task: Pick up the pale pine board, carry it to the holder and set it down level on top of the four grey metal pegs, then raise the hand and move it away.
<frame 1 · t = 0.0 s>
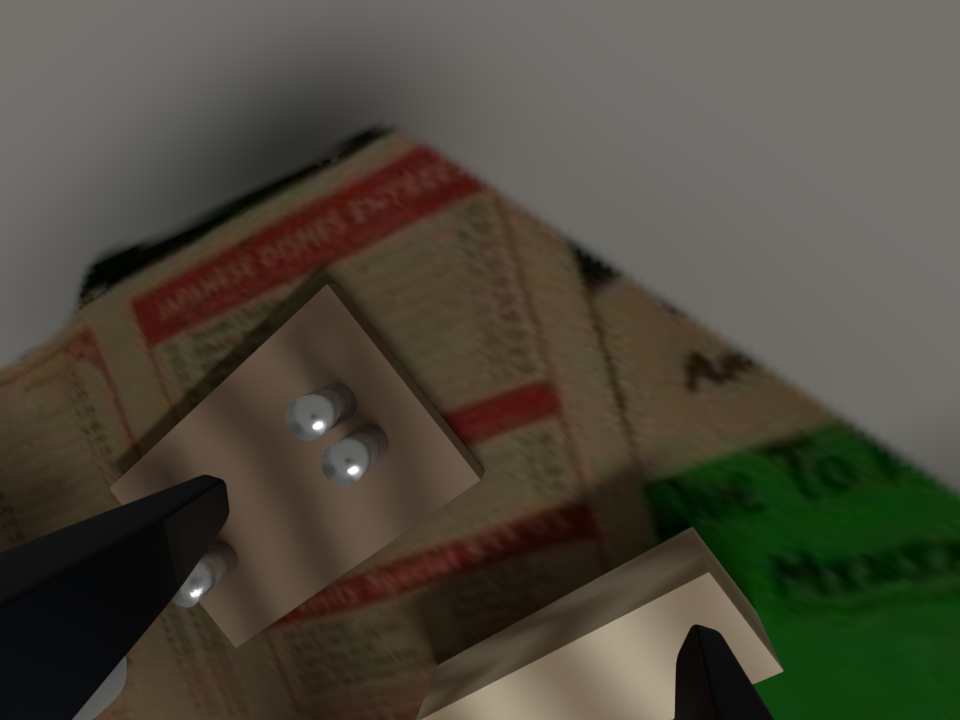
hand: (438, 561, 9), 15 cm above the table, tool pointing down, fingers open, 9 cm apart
coffee mug: (87, 638, 35), on the table
peg holder: (287, 477, 28), on the table
pine board: (583, 636, 27), on the table
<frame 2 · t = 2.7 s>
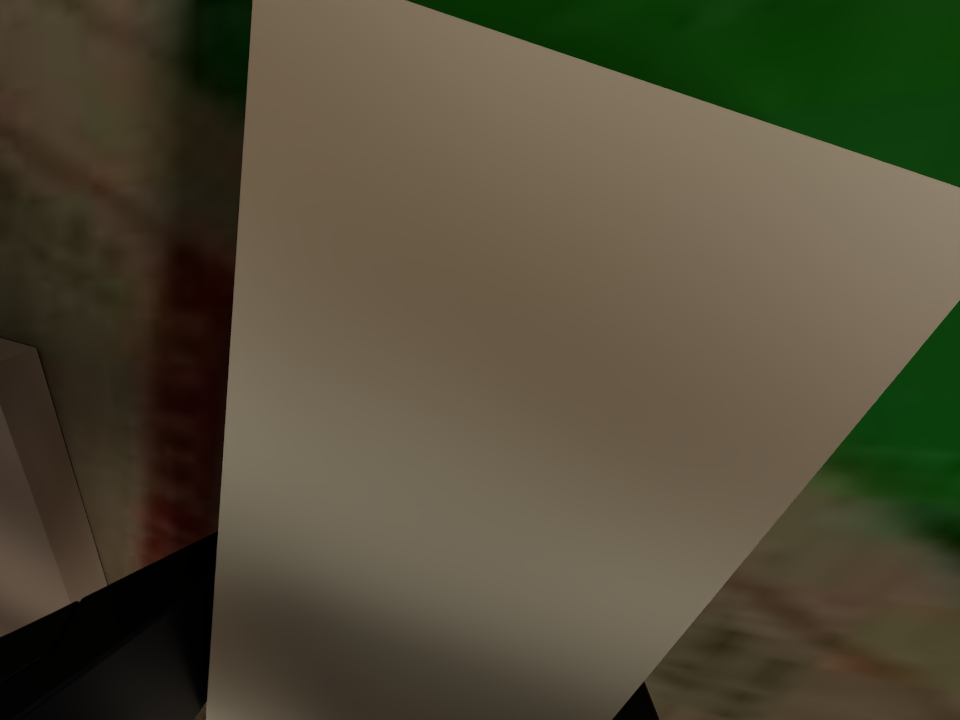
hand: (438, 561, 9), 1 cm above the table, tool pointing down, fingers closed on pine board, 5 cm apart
pine board: (458, 517, 10), on the table, touching gripper
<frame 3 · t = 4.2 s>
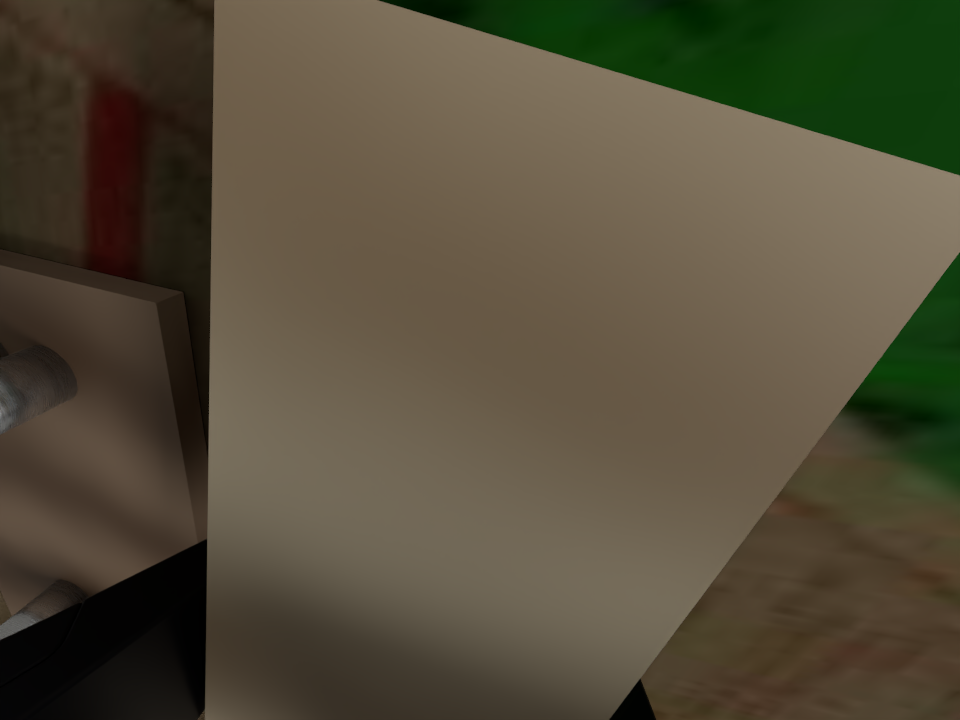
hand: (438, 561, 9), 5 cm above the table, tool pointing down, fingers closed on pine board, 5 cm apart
peg holder: (88, 485, 21), on the table
pine board: (456, 520, 10), point 4 cm above the table, touching gripper
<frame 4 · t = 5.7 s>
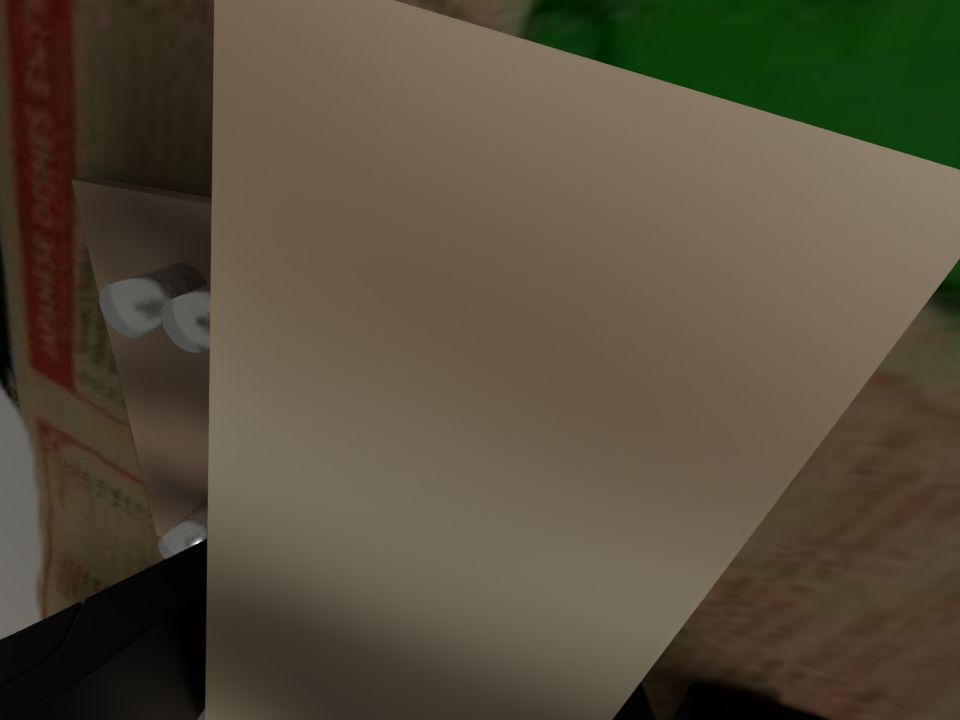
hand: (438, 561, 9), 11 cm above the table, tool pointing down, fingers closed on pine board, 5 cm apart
peg holder: (246, 407, 24), on the table
pine board: (457, 520, 10), point 10 cm above the table, touching gripper
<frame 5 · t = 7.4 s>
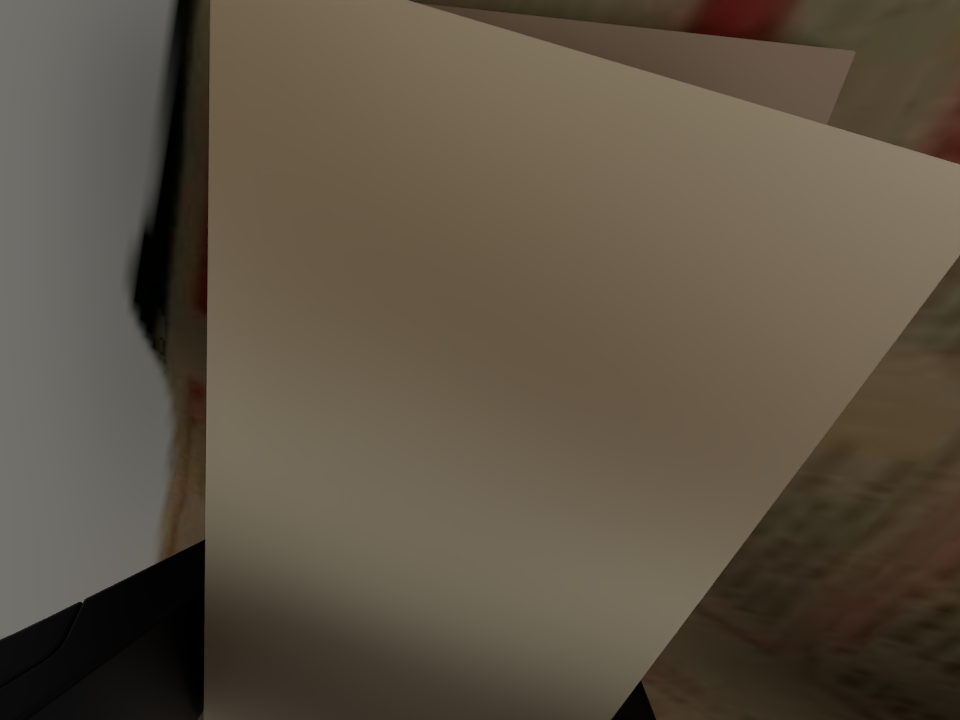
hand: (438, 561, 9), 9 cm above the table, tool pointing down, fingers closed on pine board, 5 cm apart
peg holder: (523, 358, 17), on the table
pine board: (456, 520, 10), point 8 cm above the table, touching gripper
when the fingers open (6 cm above the table, at t = 8.7 s): pine board drops 1 cm, resting on peg holder.
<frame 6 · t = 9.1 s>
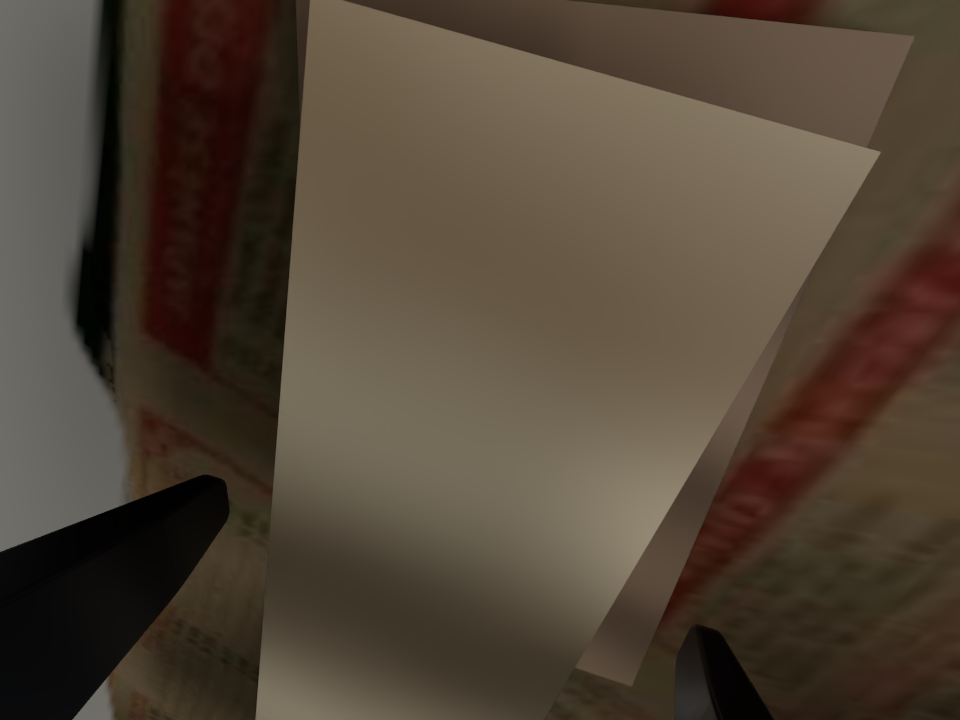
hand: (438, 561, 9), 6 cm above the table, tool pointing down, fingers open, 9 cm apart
peg holder: (509, 394, 15), on the table
pine board: (474, 476, 12), point 4 cm above the table, touching peg holder
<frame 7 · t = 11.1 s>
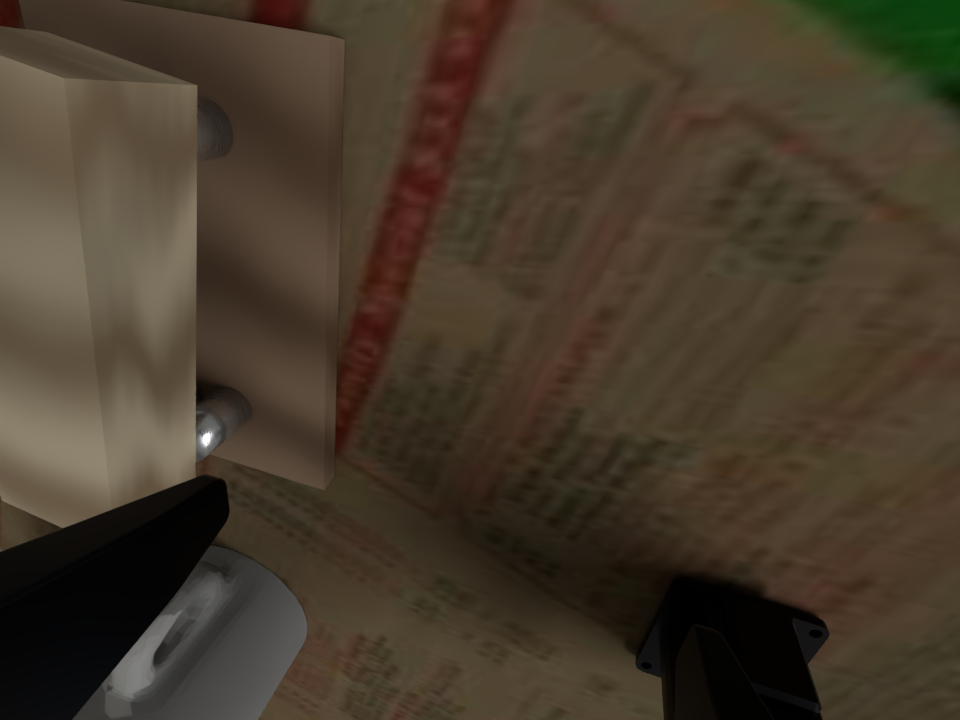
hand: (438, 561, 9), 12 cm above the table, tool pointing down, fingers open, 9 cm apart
coffee mug: (245, 586, 32), on the table
peg holder: (212, 272, 22), on the table
pine board: (136, 302, 19), point 4 cm above the table, touching peg holder
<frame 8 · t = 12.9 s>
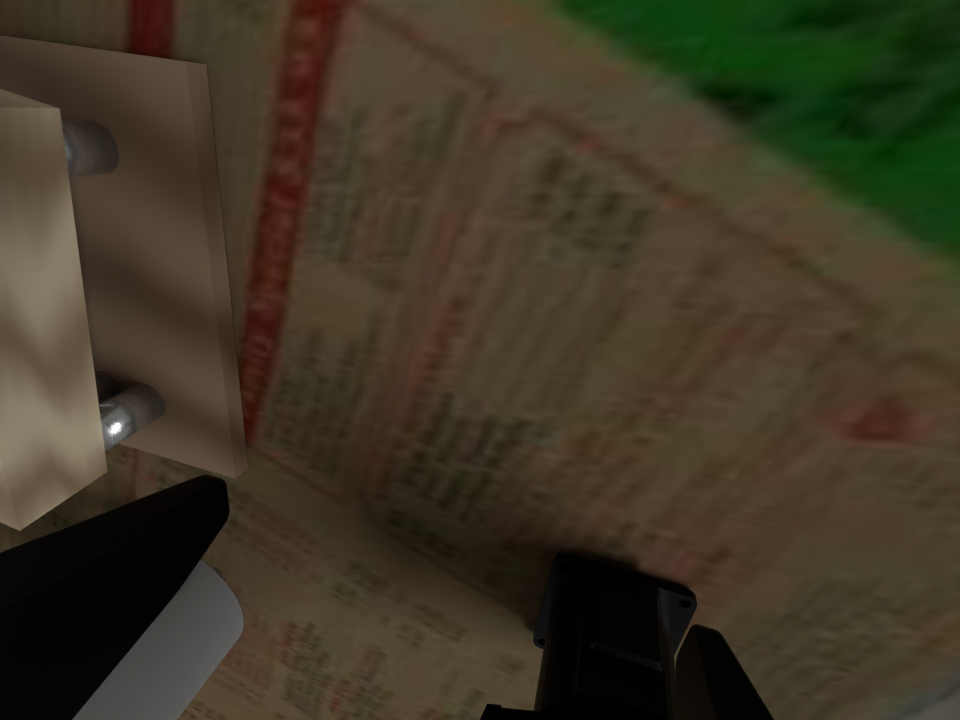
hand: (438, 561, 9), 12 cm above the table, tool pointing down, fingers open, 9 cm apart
coffee mug: (185, 578, 34), on the table
peg holder: (121, 277, 24), on the table
pine board: (36, 303, 21), point 4 cm above the table, touching peg holder
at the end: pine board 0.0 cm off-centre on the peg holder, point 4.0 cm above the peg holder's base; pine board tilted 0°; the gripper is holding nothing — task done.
